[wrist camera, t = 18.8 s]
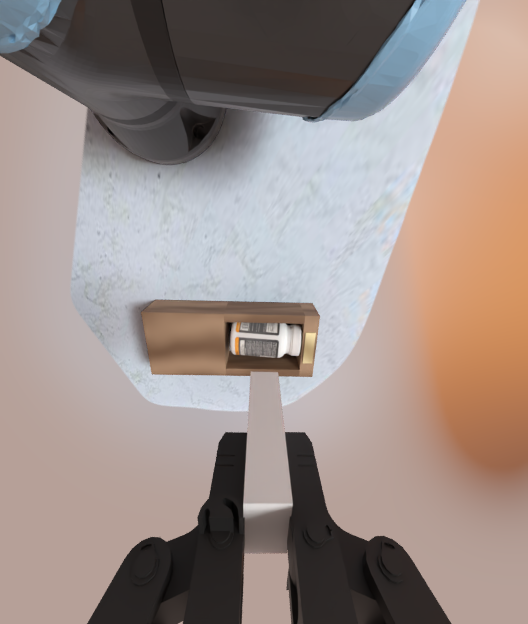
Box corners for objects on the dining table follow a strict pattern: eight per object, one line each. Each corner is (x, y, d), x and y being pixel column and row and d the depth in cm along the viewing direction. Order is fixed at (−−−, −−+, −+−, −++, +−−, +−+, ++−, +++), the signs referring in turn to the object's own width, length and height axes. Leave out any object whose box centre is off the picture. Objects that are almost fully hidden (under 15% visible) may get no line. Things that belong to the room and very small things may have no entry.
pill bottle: (234, 350, 40) (296, 355, 39) (227, 357, 34) (299, 363, 33) (237, 315, 39) (298, 320, 39) (231, 316, 34) (303, 322, 33)
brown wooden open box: (155, 299, 37) (140, 312, 33) (312, 303, 38) (320, 316, 33) (163, 356, 41) (151, 375, 36) (306, 358, 42) (312, 377, 37)
